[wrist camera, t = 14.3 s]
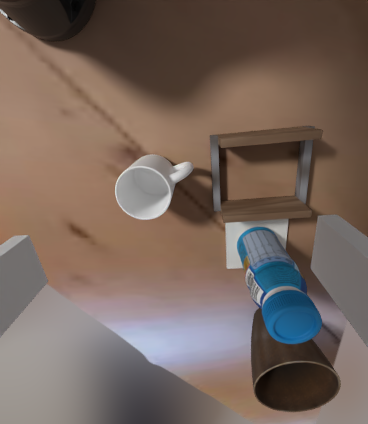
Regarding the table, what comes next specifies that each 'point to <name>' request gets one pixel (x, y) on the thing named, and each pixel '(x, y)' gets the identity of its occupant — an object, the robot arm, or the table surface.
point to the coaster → (239, 227)
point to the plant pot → (289, 372)
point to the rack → (273, 205)
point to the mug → (149, 186)
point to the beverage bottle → (277, 287)
